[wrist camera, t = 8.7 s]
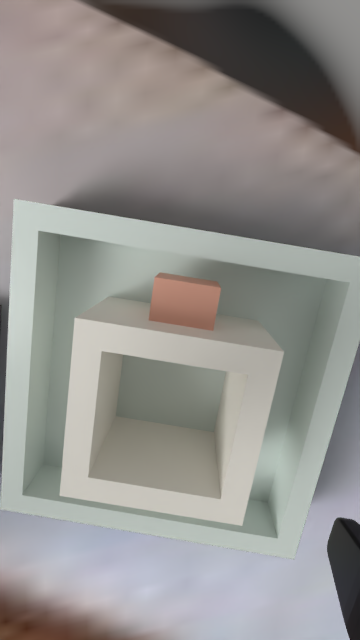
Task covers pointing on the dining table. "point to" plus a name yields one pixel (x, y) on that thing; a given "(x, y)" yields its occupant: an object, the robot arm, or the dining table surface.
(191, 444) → the collar
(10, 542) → the dining table surface
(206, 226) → the dining table surface
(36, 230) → the tray
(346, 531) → the robot arm
